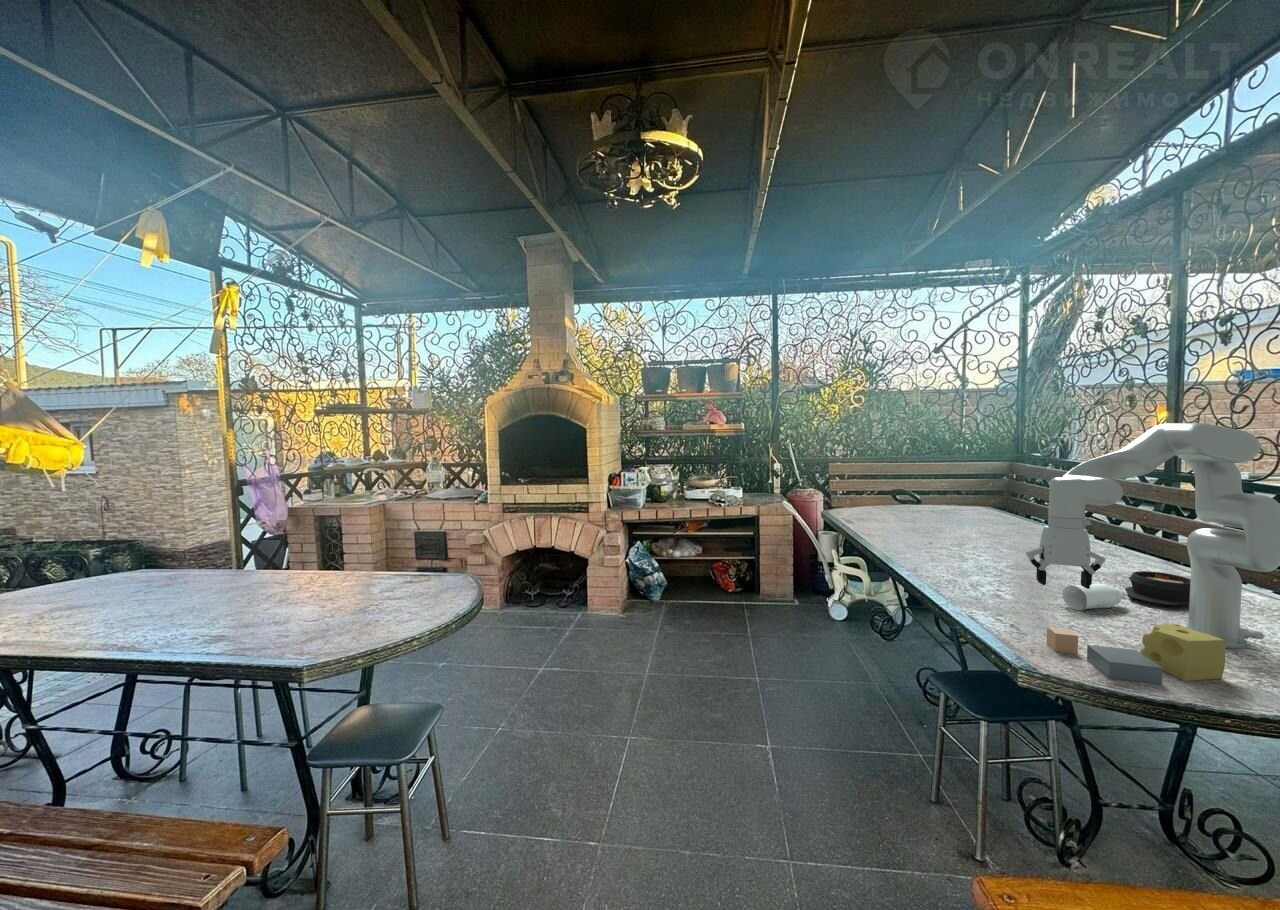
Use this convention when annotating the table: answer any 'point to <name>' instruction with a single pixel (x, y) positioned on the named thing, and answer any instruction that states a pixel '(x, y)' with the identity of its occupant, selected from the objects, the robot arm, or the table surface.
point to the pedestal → (1124, 664)
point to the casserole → (1159, 588)
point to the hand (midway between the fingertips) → (1063, 585)
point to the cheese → (1185, 652)
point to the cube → (1062, 640)
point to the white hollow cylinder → (1092, 596)
